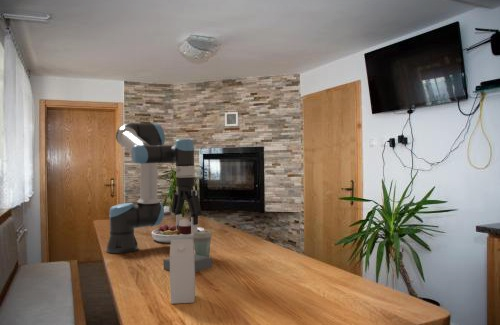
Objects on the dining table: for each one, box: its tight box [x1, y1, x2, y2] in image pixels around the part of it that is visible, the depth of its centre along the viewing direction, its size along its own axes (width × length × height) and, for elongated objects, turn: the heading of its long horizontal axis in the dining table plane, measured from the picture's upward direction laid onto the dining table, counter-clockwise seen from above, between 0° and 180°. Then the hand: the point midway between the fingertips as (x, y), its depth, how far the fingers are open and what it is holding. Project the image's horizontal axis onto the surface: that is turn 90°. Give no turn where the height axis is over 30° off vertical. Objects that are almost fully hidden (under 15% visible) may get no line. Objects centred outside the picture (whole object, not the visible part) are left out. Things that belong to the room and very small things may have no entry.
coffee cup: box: [193, 230, 212, 257], centre depth 174 cm, size 8×9×12 cm
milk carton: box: [169, 239, 196, 305], centre depth 122 cm, size 7×7×19 cm
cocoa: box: [177, 212, 195, 235], centre depth 158 cm, size 10×6×12 cm, turn 44°
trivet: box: [162, 253, 213, 273], centre depth 159 cm, size 14×14×4 cm
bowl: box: [151, 223, 206, 244], centre depth 223 cm, size 30×30×8 cm
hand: (186, 231), depth 158 cm, fingers closed on cocoa, 9 cm apart
